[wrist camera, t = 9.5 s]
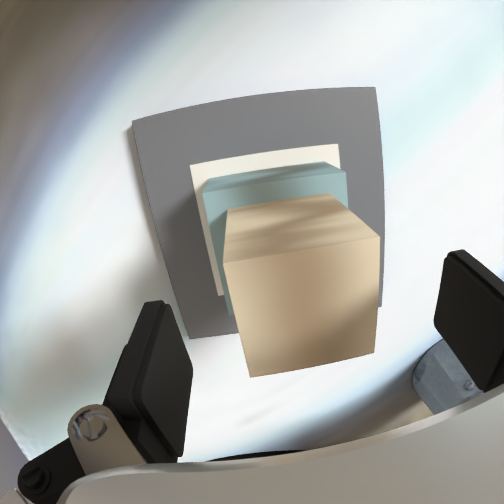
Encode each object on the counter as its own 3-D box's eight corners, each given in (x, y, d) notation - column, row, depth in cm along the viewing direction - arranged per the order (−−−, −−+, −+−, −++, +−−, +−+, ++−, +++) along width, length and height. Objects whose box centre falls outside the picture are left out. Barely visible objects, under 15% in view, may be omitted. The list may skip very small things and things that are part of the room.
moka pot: (449, 300, 24) (575, 462, 6) (494, 353, 29) (572, 462, 10) (380, 371, 27) (456, 549, 9) (442, 404, 31) (501, 520, 13)
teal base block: (324, 161, 18) (345, 172, 14) (331, 264, 21) (350, 294, 17) (209, 178, 18) (202, 193, 15) (229, 281, 21) (228, 315, 17)
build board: (369, 88, 17) (375, 87, 16) (376, 299, 24) (381, 306, 23) (136, 120, 17) (131, 121, 17) (190, 331, 24) (189, 339, 23)
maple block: (329, 192, 15) (379, 236, 9) (335, 281, 17) (373, 352, 11) (227, 209, 15) (222, 263, 9) (245, 297, 17) (250, 377, 11)
